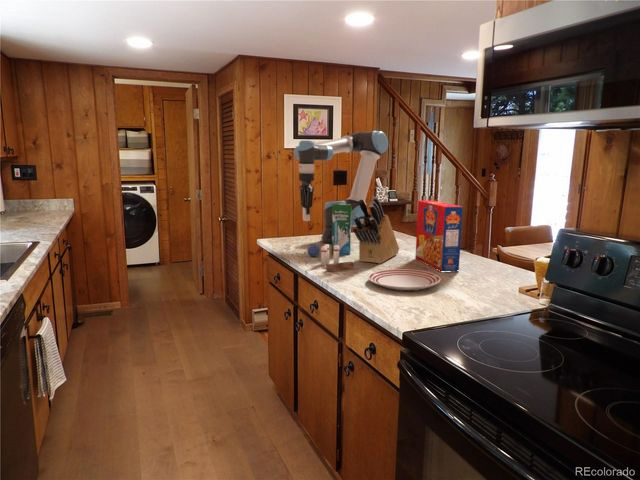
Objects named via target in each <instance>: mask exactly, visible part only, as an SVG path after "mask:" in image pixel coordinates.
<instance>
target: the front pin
mask: <svg viewBox="0 0 640 480" xmlns="http://www.w3.org/2000/svg"><path fill="white" fill-rule="evenodd" d="M323 246H325V247H327V264H330V244H329V243H325V244H323Z"/></svg>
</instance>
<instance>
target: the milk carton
mask: <svg viewBox="0 0 640 480" xmlns="http://www.w3.org/2000/svg"><path fill="white" fill-rule="evenodd" d="M351 240H352V226H351V205H346V204H342V203H340V204H339V205H338V204H333V208H332V244H331V255H334V246H339V255H348V256H349V255H351V248H352V247H351V246H352V245H351V244H352V243H351V242H352V241H351Z"/></svg>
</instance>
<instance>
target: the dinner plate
mask: <svg viewBox="0 0 640 480" xmlns="http://www.w3.org/2000/svg"><path fill="white" fill-rule="evenodd" d="M367 278H368V281H369V282H372V283H374V284H376V285H377V286H380V287H383V288H386V289H388V290H389V289H390V290H394V289H395V291H403V290H414V291H420V290H419V289H421V290H425V289H427V288H431V287H434V286H436V285H438V284H439V283H440V282H441V280H442V279H441V277H440V276H439V275H438V274H435V273H433V272H431V271H425V270H421V269H420V270H419V269H411V268H410V269H407V268H405V269H404V268H392V269H382V270H377V271H373V272H371V273H370V274H369V275H368V276H367Z"/></svg>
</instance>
